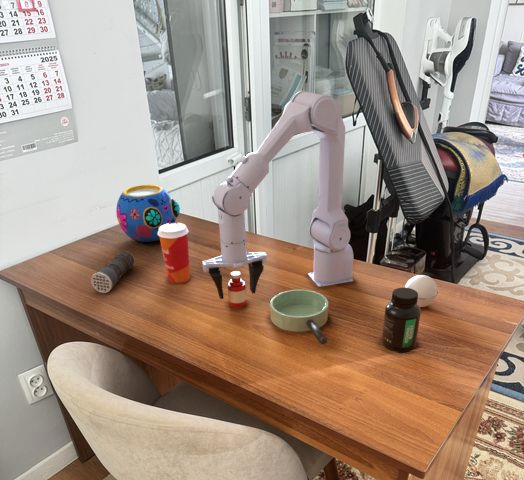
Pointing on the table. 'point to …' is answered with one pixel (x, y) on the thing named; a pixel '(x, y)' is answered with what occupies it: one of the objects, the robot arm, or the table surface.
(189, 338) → the table surface
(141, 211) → the ceramic pot
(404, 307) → the supplement bottle
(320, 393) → the table surface
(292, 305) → the pan
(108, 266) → the flashlight
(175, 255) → the paper cup
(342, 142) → the robot arm
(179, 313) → the table surface
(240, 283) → the sauce bottle
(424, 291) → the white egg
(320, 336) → the pan handle
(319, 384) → the table surface
